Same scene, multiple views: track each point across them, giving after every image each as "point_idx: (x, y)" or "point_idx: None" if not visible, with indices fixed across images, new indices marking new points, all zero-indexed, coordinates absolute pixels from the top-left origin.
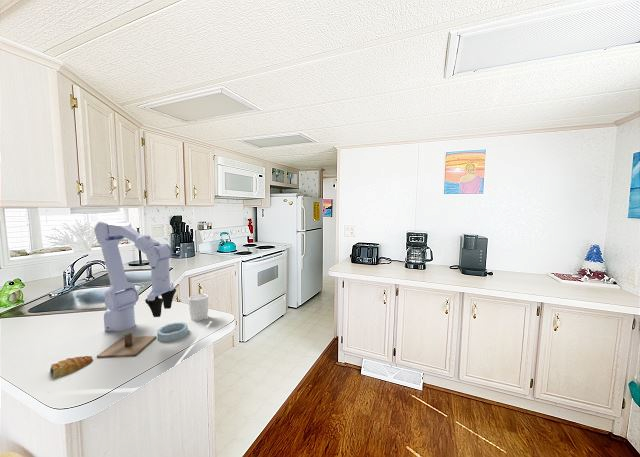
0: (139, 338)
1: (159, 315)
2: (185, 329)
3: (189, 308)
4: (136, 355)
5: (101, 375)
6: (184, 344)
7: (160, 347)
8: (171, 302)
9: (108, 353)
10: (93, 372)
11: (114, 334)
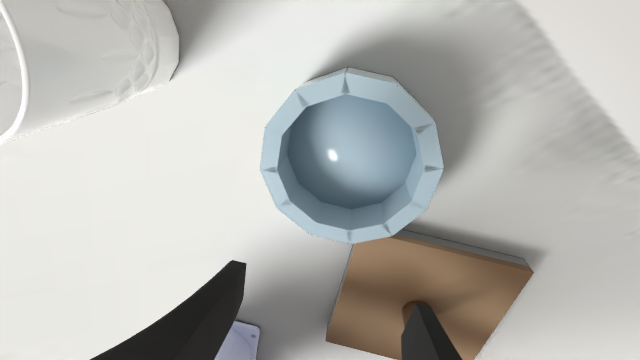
0: (363, 288)
1: (437, 318)
2: (384, 80)
3: (91, 113)
4: (523, 264)
5: (597, 328)
6: (491, 59)
7: (461, 184)
8: (210, 295)
9: (461, 352)
10: (552, 351)
11: (264, 356)
